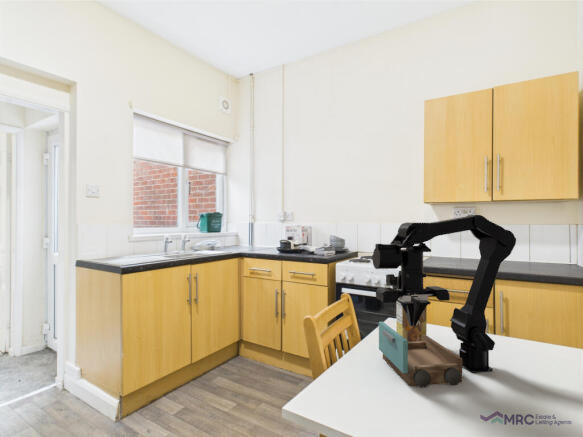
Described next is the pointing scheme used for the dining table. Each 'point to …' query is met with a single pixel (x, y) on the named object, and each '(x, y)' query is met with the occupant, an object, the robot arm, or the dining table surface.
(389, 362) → the cart bed
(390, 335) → the panel
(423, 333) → the candy box
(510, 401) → the dining table surface
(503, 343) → the dining table surface
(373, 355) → the dining table surface
